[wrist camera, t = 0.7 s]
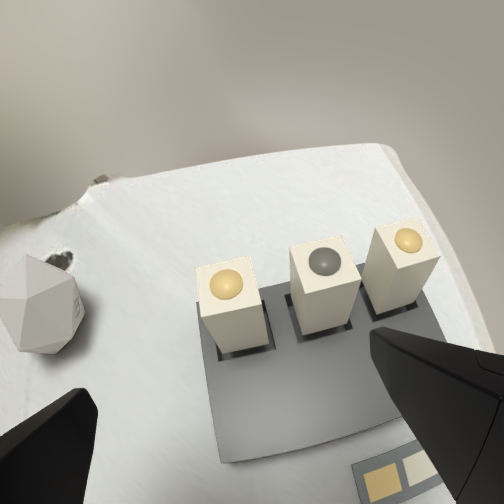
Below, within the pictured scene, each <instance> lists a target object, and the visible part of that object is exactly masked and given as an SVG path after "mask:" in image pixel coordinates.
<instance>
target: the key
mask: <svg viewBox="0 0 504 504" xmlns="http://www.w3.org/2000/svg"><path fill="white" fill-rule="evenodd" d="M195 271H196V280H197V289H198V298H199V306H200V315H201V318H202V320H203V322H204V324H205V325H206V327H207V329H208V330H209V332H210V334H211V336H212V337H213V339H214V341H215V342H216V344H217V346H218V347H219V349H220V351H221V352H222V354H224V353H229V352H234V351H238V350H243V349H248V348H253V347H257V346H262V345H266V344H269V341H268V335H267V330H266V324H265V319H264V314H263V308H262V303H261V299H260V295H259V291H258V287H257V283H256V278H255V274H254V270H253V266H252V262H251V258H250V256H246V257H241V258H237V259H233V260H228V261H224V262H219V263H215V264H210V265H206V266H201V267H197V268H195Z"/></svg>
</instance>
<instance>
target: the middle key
mask: <svg viewBox="0 0 504 504" xmlns="http://www.w3.org/2000/svg"><path fill="white" fill-rule="evenodd" d="M289 252H290V289H291V299H292V302H293V306H294V309H295V312H296V316H297V319H298V322H299V326H300V329H301V332H302V336H303V335H307V334H311V333H315V332H318V331H322V330H326V329H329V328H333V327H337V326H340V325H344V324H347V322H348V319H349V316H350V313H351V310H352V307H353V304H354V301H355V298H356V295H357V292H358V289H359V286H360V283H361V280H362V278H361V276H360V274H359V272H358V270H357V267H356V265H355V263H354V261H353V259H352V257H351V254H350V252H349V250H348V248H347V246H346V244H345V242H344V240H343V238H342V236H341V235H339V236H334V237H330V238H326V239H321V240H317V241H312V242H308V243H304V244H299V245H295V246H290V247H289Z"/></svg>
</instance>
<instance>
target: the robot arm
mask: <svg viewBox="0 0 504 504" xmlns="http://www.w3.org/2000/svg"><path fill="white" fill-rule="evenodd" d="M369 340H370V355H371V359H372V361H373V363H374V365H375V367H376V369H377V371H378V373H379V375H380V377H381V379H382V382H383V384H384V386H385V388H386V390H387V392H388V394H389V396H390V398H391V399H392V401H393V403H394V404H395V406H396V407H397V409H398V410H399V412H400V413H401V415H402V416H403V418H404V420H405V421H406V423H407V424H408V426H409V427H410V429H411V430H412V432H413V434H414V435H415V437H416V438H417V440H418V441H419V443H420V445H421V446H422V448H423V449H424V451H425V453H426V454H427V456H428V457H429V459H430V461H431V462H432V464H433V465H434V467H435V469H436V470H437V472H438V474H439V475H440V477H441V478H442V480H443V482H444V483H445V485H446V487H447V488H448V490H449V492H450V493H451V495H452V497H453V498H454V500H455V501H456V504H504V355H499V354H494V353H489V352H484V351H480V350H474V349H471V348H467V347H463V346H459V345H455V344H451V343H447V342H442V341H438V340H434V339H430V338H426V337H423V336H419V335H415V334H411V333H407V332H403V331H399V330H396V329H392V328H388V327H384V326H380V327H377V328H374V329H372V330H371V331H370V333H369ZM97 418H98V409H97V406H96V405H95V403H94V401H93V399H92V398H91V396H90V394H89V392H88V391H87V390H86V389H85V388H75V389H73V390H71V391H70V392H68V393H66V394H65V395H63V396H62V397H60V398H59V399H57V400H56V401H54V402H53V403H51V404H50V405H48V406H46V407H45V408H43V409H42V410H40V411H39V412H37V413H36V414H34V415H33V416H31V417H29V418H28V419H26V420H25V421H23V422H22V423H20V424H19V425H17V426H15V427H14V428H12V429H11V430H9V431H8V432H6V433H4V434H3V435H2V436H0V504H83V501H84V496H85V490H86V485H87V479H88V474H89V469H90V465H91V460H92V455H93V450H94V442H95V433H96V426H97Z"/></svg>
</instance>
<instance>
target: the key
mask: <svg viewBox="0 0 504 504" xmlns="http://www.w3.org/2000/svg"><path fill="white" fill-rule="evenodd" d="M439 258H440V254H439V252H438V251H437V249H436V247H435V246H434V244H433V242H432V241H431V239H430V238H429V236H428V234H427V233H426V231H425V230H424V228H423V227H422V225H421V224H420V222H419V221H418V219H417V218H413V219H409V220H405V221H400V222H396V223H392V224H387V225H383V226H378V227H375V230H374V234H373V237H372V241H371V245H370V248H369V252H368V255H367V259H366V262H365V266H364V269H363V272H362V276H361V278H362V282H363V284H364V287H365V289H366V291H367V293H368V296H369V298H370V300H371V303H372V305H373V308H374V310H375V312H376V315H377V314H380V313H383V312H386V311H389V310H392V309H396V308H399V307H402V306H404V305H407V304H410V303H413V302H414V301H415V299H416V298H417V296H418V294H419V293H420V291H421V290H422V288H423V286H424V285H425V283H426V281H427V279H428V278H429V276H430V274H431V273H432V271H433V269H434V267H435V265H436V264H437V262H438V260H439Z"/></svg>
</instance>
